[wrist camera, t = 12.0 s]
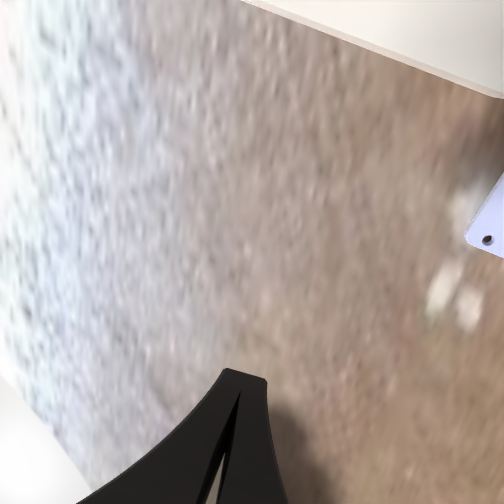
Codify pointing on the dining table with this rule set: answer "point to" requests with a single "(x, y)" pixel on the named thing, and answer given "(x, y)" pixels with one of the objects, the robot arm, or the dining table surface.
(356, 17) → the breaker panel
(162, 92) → the dining table surface
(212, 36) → the dining table surface
